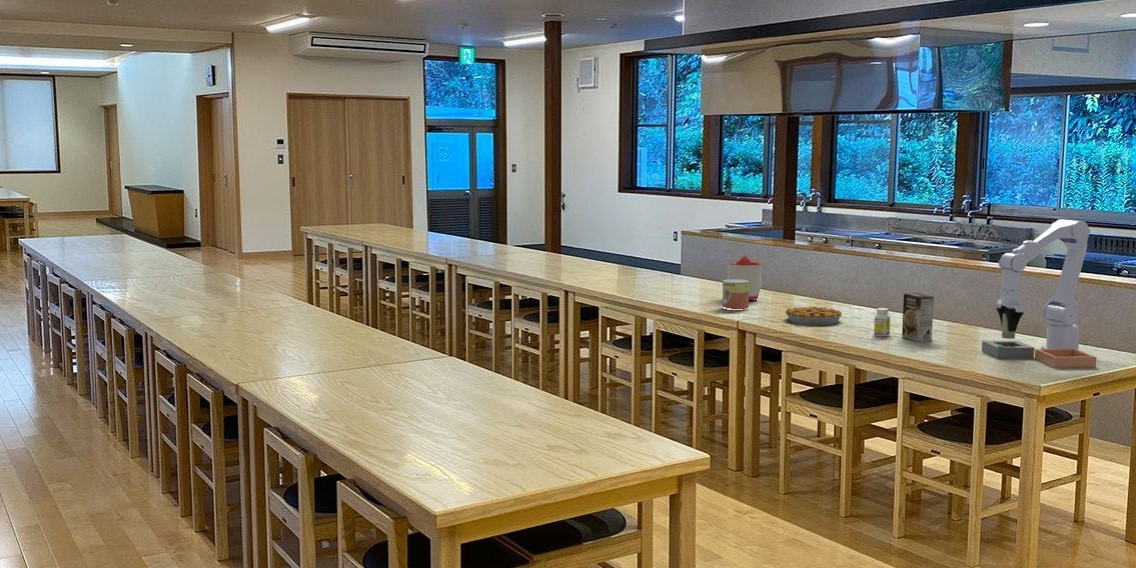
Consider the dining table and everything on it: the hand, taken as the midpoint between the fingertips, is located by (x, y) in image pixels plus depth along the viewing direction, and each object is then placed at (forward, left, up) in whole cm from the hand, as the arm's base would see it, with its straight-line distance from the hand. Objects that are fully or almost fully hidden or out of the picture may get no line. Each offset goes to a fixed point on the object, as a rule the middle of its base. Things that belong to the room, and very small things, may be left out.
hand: (1008, 330), depth 334 cm
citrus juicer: (+64, -124, -8) cm, 140 cm away
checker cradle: (0, 0, -8) cm, 8 cm away
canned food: (+72, -99, -8) cm, 123 cm away
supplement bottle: (+30, -36, -8) cm, 48 cm away
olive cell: (0, 0, -2) cm, 2 cm away
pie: (+47, -67, -9) cm, 82 cm away
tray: (-12, +14, -8) cm, 20 cm away
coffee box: (+20, -28, -8) cm, 35 cm away
